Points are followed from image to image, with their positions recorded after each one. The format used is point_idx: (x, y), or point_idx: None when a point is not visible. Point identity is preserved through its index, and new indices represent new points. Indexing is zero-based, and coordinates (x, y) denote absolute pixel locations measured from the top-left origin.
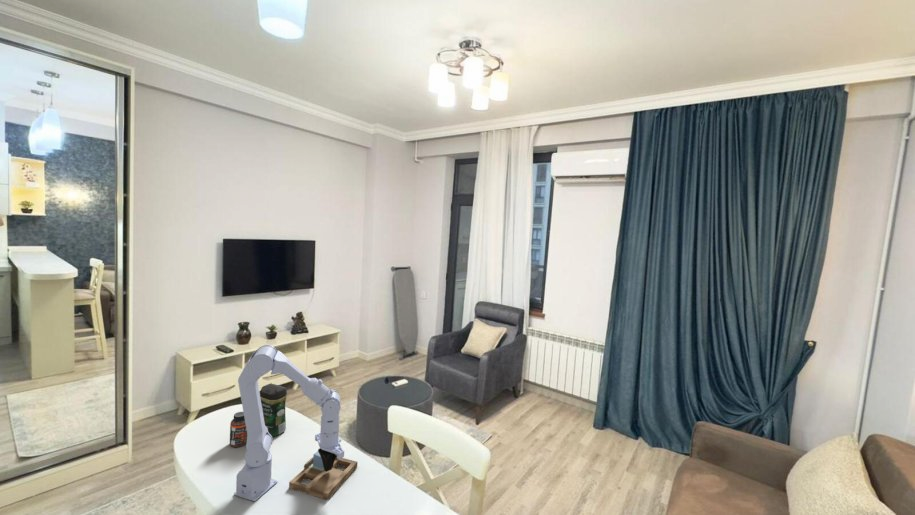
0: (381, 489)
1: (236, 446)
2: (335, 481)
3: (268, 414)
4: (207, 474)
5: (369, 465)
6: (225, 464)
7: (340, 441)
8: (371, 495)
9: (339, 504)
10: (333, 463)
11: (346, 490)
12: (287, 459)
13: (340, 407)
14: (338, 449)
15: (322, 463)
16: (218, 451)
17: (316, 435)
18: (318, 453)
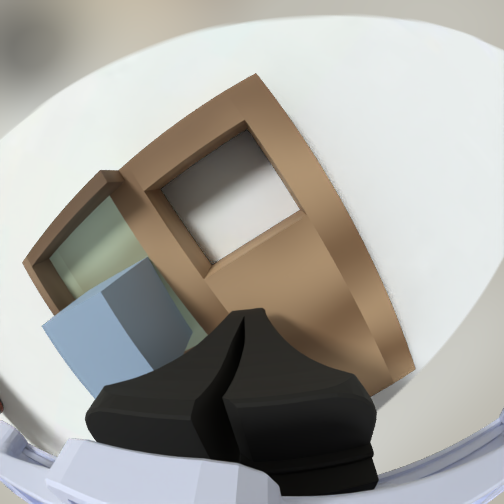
0: (484, 114)
1: (2, 407)
2: (370, 311)
3: None
4: None
5: (284, 26)
6: (55, 448)
7: (278, 495)
8: (493, 173)
9: (453, 316)
10: (272, 325)
11: (415, 253)
12: (43, 363)
13: None
14: (498, 492)
15: (180, 355)
16: (16, 428)
17: (19, 496)
18: (98, 380)
